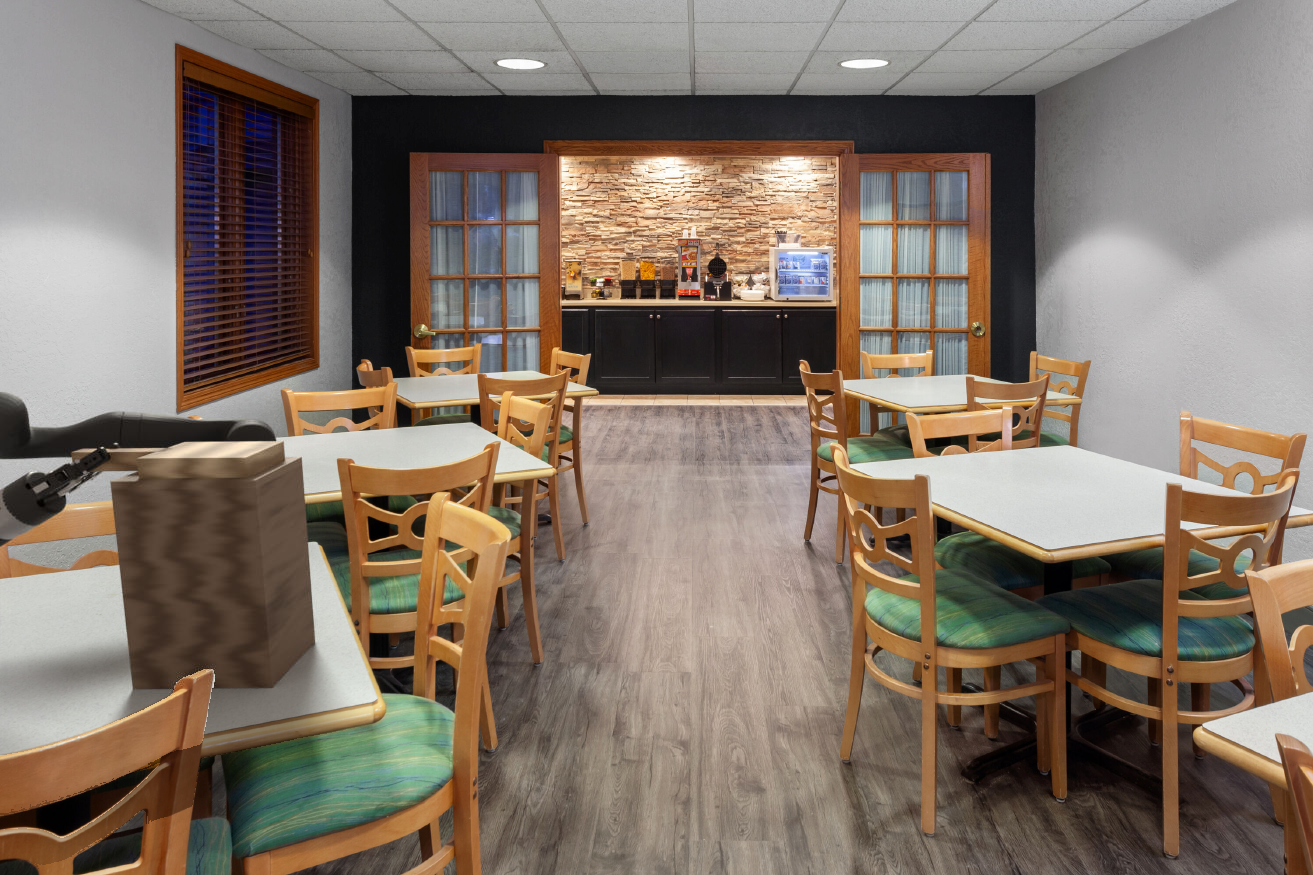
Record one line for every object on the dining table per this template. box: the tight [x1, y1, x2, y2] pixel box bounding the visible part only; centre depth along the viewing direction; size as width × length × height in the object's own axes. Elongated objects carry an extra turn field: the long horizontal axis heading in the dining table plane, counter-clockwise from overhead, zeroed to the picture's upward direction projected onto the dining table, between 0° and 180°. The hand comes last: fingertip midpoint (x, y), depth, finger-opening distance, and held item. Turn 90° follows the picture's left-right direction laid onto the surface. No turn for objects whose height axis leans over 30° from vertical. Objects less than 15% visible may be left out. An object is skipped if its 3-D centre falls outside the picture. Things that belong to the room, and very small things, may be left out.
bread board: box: [71, 440, 286, 478], centre depth 142 cm, size 29×14×3 cm, turn 90°
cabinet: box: [110, 456, 316, 690], centre depth 145 cm, size 21×18×32 cm
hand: (112, 450), depth 142 cm, fingers closed on bread board, 3 cm apart
